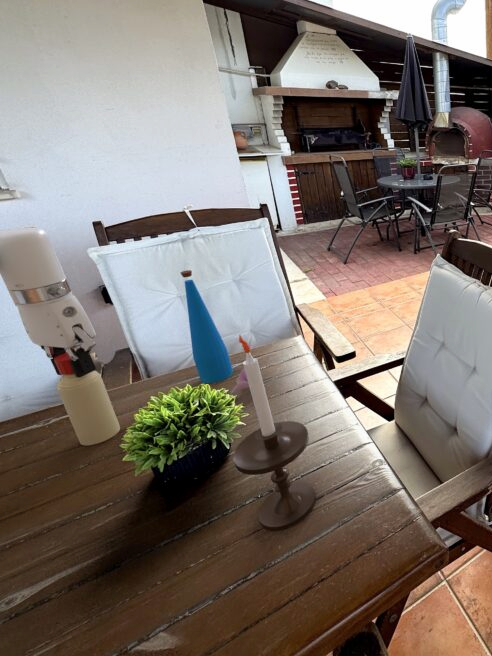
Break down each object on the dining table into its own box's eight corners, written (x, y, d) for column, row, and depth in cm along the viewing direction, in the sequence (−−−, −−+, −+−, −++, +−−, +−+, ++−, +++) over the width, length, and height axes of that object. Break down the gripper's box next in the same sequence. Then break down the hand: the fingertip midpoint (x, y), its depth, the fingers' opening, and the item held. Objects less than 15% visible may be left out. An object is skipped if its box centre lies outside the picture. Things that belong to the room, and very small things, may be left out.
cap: (90, 368, 83) (84, 354, 82) (60, 377, 80) (54, 363, 79) (87, 361, 85) (82, 348, 84) (58, 369, 82) (52, 356, 81)
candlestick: (238, 523, 69) (180, 346, 57) (290, 475, 78) (250, 314, 66) (285, 545, 65) (234, 360, 53) (334, 491, 75) (300, 325, 63)
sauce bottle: (72, 448, 84) (38, 369, 78) (90, 428, 90) (59, 353, 84) (111, 441, 86) (80, 363, 80) (126, 422, 92) (98, 348, 86)
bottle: (217, 385, 105) (185, 277, 95) (193, 382, 106) (160, 275, 96) (239, 369, 112) (212, 267, 102) (217, 367, 113) (188, 265, 103)
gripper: (99, 287, 79) (129, 366, 85) (31, 282, 82) (66, 359, 88) (53, 303, 72) (89, 387, 78) (-20, 296, 75) (22, 379, 81)
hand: (77, 371), depth 83 cm, fingers closed on cap, 4 cm apart
